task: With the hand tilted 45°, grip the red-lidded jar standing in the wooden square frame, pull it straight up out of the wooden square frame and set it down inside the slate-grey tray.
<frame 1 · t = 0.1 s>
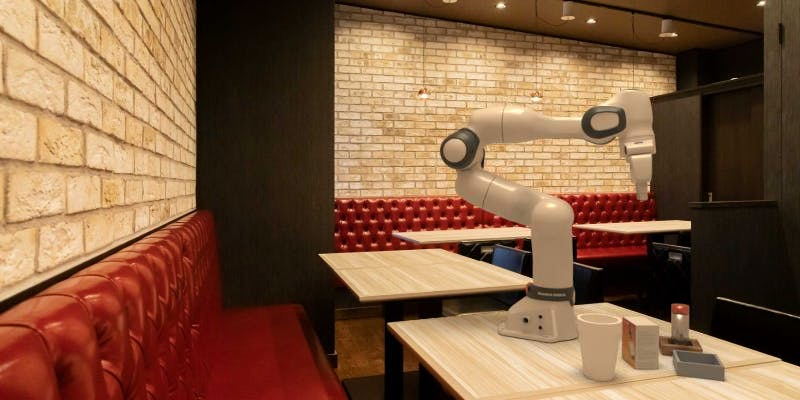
hand: (642, 200, 140), 39 cm above the table, tool pointing down, fingers open, 8 cm apart
wooden square frame: (679, 351, 134), on the table
small box: (639, 364, 125), on the table
tray: (697, 371, 120), on the table
red-lidded jar: (680, 328, 133), in the wooden square frame
foam cup: (598, 376, 117), on the table
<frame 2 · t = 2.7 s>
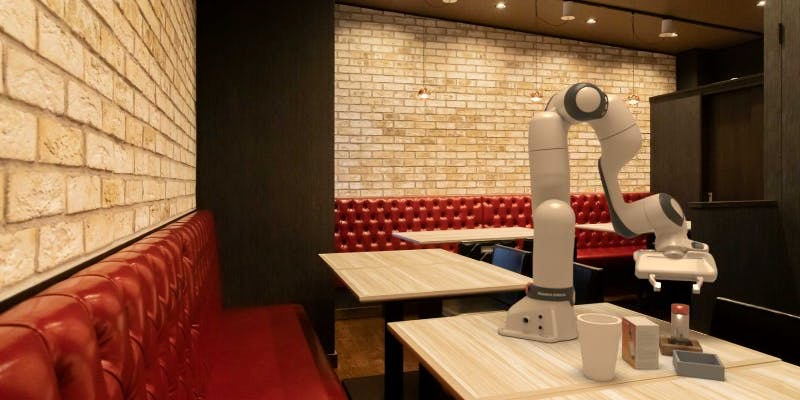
hand: (676, 291, 141), 14 cm above the table, tool tilted 45°, fingers open, 8 cm apart
nothing on the table moved.
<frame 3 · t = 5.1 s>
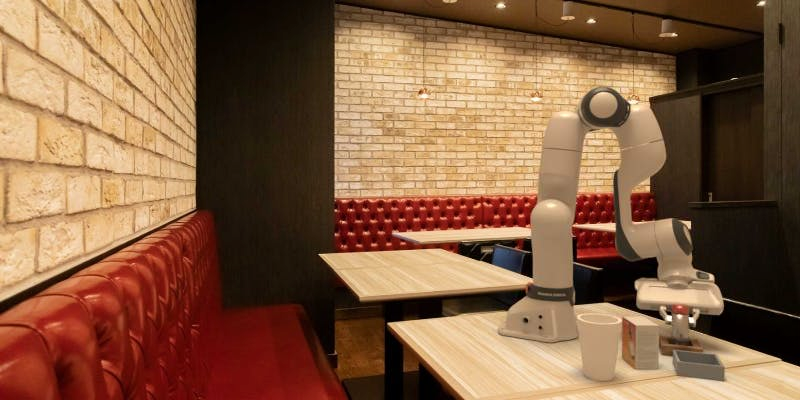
hand: (680, 324, 133), 7 cm above the table, tool tilted 45°, fingers closed on red-lidded jar, 4 cm apart
red-lidded jar: (680, 328, 133), in the wooden square frame, touching gripper
everything else where it was.
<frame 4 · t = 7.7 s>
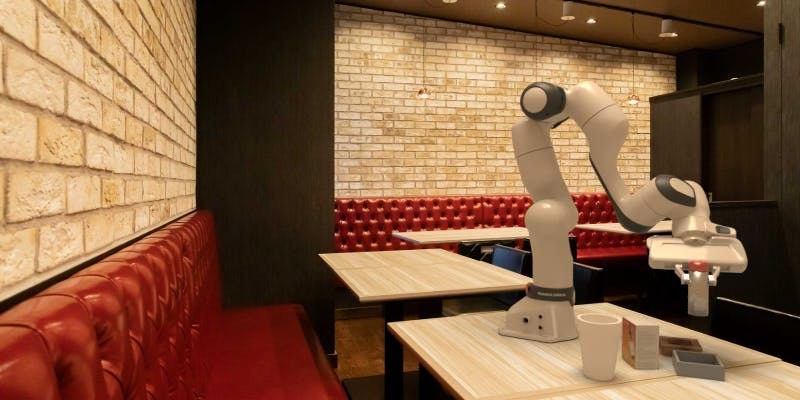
hand: (698, 283, 119), 20 cm above the table, tool tilted 45°, fingers closed on red-lidded jar, 4 cm apart
red-lidded jar: (698, 288, 119), point 19 cm above the table, touching gripper
everything else where it was.
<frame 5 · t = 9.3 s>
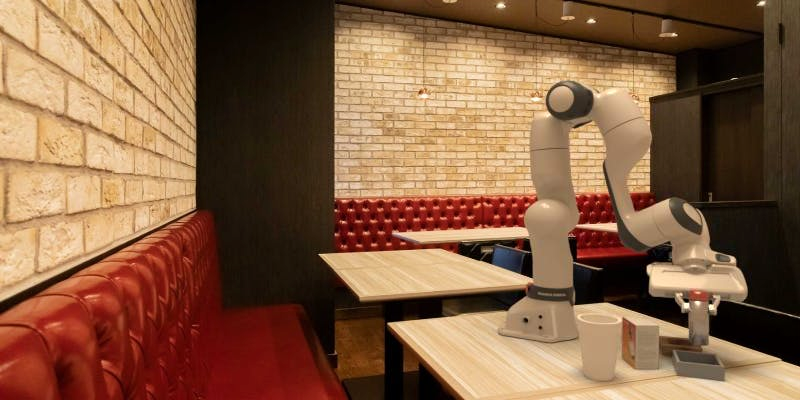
hand: (699, 312, 119), 14 cm above the table, tool tilted 45°, fingers closed on red-lidded jar, 4 cm apart
red-lidded jar: (698, 317, 119), point 13 cm above the table, touching gripper
everything else where it was.
when the fingers open (9 cm above the table, at t = 10.8 s): red-lidded jar stays where it is, resting on tray.
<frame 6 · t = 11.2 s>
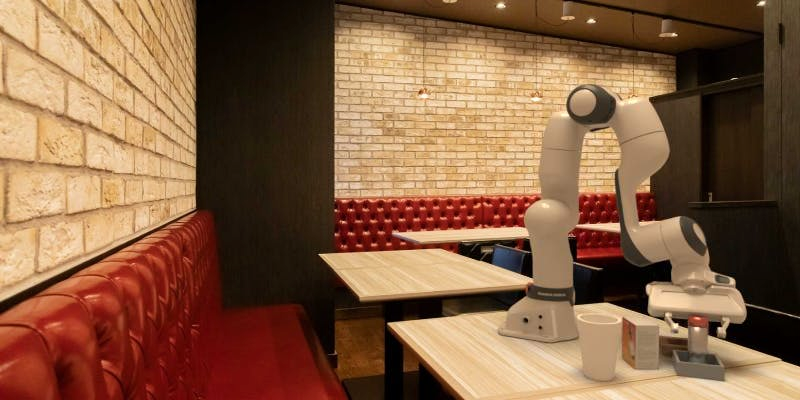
hand: (697, 334, 119), 9 cm above the table, tool tilted 45°, fingers open, 8 cm apart
red-lidded jar: (697, 342, 120), in the tray, point 7 cm above the table
everything else where it was.
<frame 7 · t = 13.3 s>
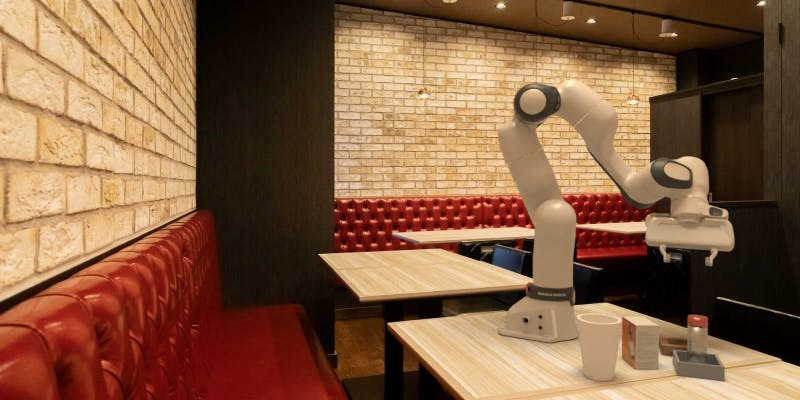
hand: (687, 263, 133), 23 cm above the table, tool tilted 30°, fingers open, 8 cm apart
nothing on the table moved.
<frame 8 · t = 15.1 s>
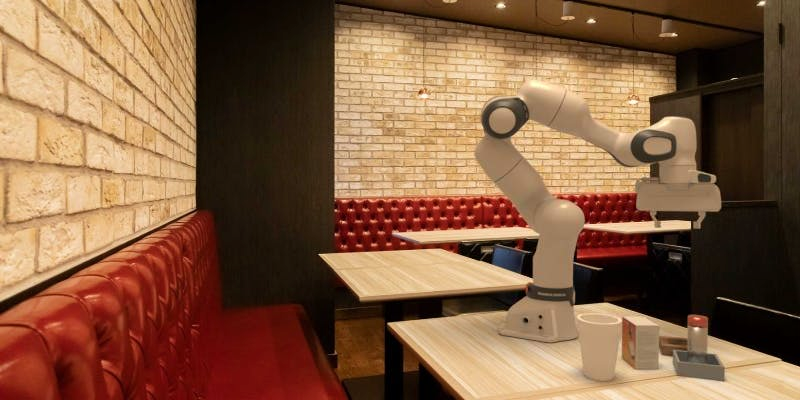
hand: (677, 228, 141), 31 cm above the table, tool pointing down, fingers open, 8 cm apart
nothing on the table moved.
at the end: red-lidded jar inside the target area on the tray (0.0 cm from its centre), point 6.6 cm above the tray's base; the gripper is holding nothing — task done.
